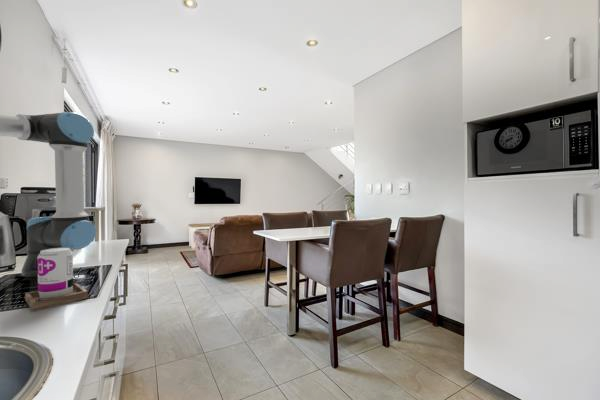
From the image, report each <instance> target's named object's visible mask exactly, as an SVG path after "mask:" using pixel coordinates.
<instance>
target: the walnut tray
mask: <svg viewBox="0 0 600 400" xmlns="http://www.w3.org/2000/svg"><path fill="white" fill-rule="evenodd" d="M88 293H89V292H88V290H87V289H85V288H84V287H83V286H82V285H80V284H79V283H77V282H73V293H72V294H69V295H65V296H61V297H56V298H52V299H48V300H43V301H41V300H40V299H38V290H33V291H30V292H25V293H24V300H25V302H26V304H27V305H28V306H29V308H30V309H31V311H32V312H36V311H40V310H41V311H42V310H45V309H49V308H51V307H57V306H60V305H64V304H69V303H72V302H78V301H80V300H85V299H88V298H89V297H88V296H89V295H88Z"/></svg>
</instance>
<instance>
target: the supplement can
mask: <svg viewBox="0 0 600 400" xmlns="http://www.w3.org/2000/svg"><path fill="white" fill-rule="evenodd" d="M73 254H74V252H73V251H72V250H70V248H51V249H45V250H42V251H40V254H39V255H38V257H37V261H38V277H37V291H38V299H40V300H41V301H43V300H48V299H52V298H56V297H61V296H65V295H69V294H72V293H73V283H74V263H73V262H74V256H73Z"/></svg>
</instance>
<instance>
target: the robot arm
mask: <svg viewBox="0 0 600 400" xmlns="http://www.w3.org/2000/svg"><path fill="white" fill-rule="evenodd" d="M94 135H95V128H94V127H93V124H92V123H91V122H90V120H89V119H88V118H87V117H86V116H84V115H83V114H81V113H78V112H73V111H70V112H69V111H62V112H56V113H46V114H45V113H44V114H20V113H19V114H16V115H13V116H12V115H7V114H6V115H5V114H0V137H12V138H13V137H14V138H17V139H18V140H20V141H31V142H38V143H39V142H40V143H44V144H45V143H46V144H48V146H49V147H50V148H51V149H53V151H54V178H55V213H54V214H52V215H51V216H40V217H32V218H29V219H28V220H27V222H26V227H25V228H26V243H27V244H26V247H27V248H26V250H27V254H26V255H27V256H26V259H25V261H24V263H23V266H22V268H21V276H22V277H25V278H38V261H37V257H38V255H39V254H40V251H42V250H45V249H51V248H70V250H71V251H72V250H73V251H74V250H77V251H78V250H82V249H85V248H86V247H88V246H89V245H90V244H91V243H93V241H94V240H95V237H96V235H97V227H96V225H95V224H93V222H91V221H90V215H89V214H88V213H87V212H86V211H85V194H84V193H85V192H84V191H85V190H84V185H85V183H84V153H85V151H87V150H88V143H89V142H90V141H91V140H92V139H93V138H94V137H95V136H94ZM5 215H6V214H5V213H3V212H2V211H0V219H1V218H3V217H4V216H5Z"/></svg>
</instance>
